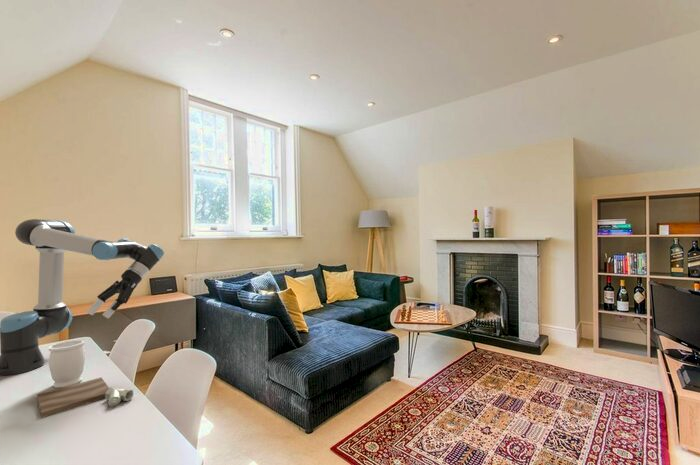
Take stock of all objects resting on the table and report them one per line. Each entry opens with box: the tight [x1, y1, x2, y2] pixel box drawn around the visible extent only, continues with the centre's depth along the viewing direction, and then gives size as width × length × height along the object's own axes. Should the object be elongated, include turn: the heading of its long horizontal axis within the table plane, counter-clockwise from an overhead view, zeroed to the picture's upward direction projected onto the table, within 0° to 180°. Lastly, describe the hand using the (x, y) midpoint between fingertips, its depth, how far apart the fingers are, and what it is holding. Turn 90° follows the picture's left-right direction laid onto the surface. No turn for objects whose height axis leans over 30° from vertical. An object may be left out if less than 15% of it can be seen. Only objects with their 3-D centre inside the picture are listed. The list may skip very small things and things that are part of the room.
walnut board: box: [36, 377, 110, 418], centre depth 115 cm, size 18×18×2 cm
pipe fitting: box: [104, 387, 134, 407], centre depth 111 cm, size 8×4×7 cm
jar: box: [48, 339, 86, 389], centre depth 127 cm, size 11×10×15 cm
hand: (96, 315), depth 136 cm, fingers open, 13 cm apart
